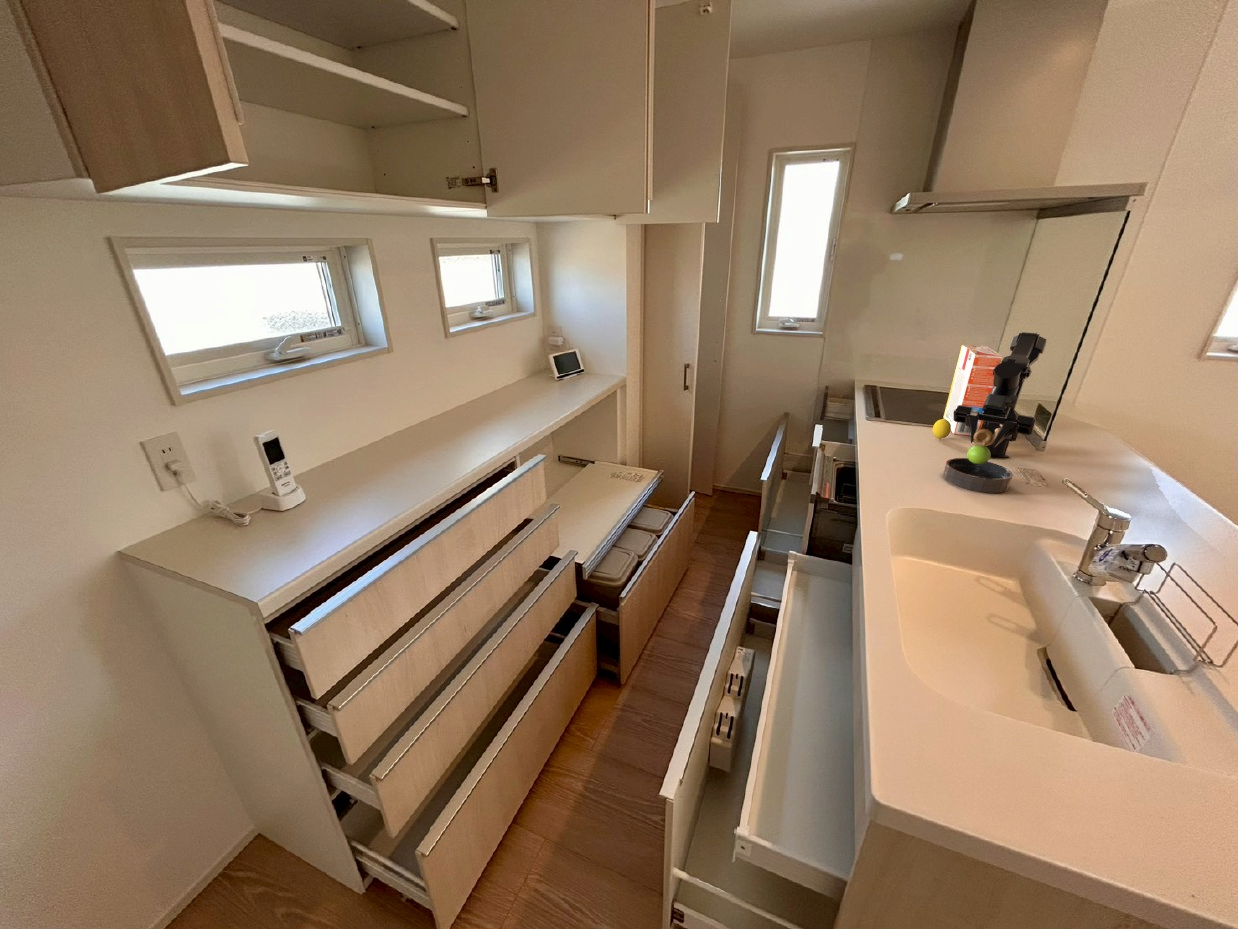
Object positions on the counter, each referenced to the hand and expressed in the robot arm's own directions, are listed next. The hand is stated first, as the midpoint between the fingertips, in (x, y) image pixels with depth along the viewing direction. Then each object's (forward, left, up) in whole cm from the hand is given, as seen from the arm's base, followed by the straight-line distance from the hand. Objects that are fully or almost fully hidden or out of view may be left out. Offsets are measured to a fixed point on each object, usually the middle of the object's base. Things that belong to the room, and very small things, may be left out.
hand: (982, 444), depth 140 cm
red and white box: (-36, -54, -13) cm, 66 cm away
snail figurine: (-1, -1, -6) cm, 7 cm away
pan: (-4, -3, -13) cm, 14 cm away
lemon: (-18, -40, -13) cm, 46 cm away
